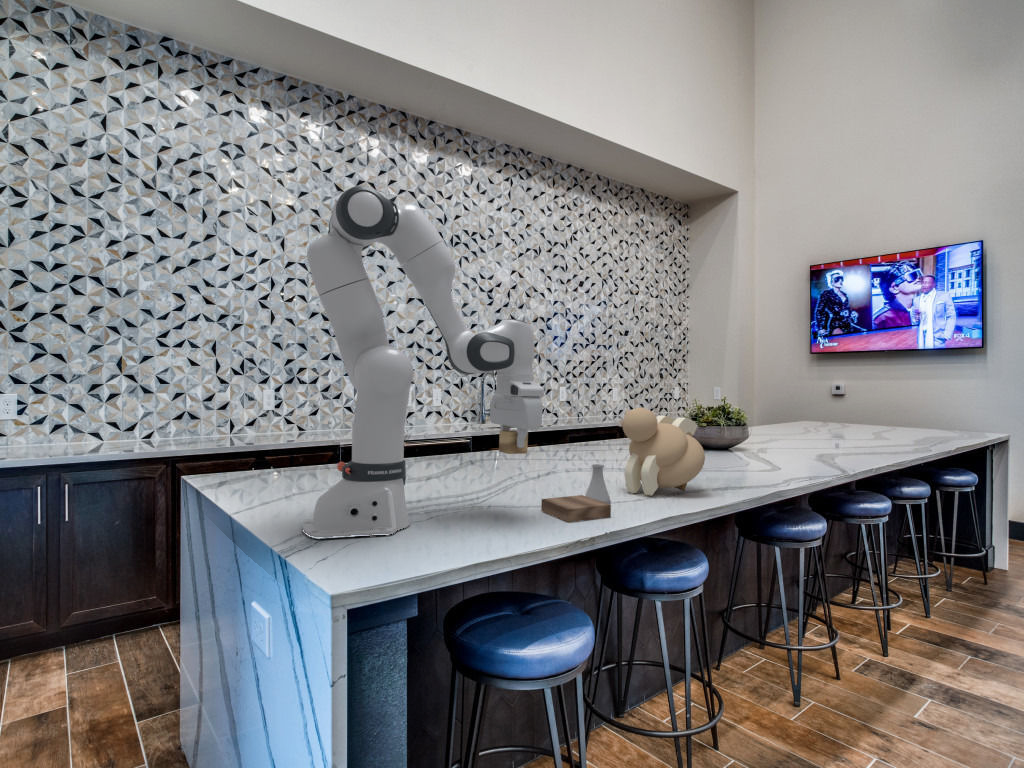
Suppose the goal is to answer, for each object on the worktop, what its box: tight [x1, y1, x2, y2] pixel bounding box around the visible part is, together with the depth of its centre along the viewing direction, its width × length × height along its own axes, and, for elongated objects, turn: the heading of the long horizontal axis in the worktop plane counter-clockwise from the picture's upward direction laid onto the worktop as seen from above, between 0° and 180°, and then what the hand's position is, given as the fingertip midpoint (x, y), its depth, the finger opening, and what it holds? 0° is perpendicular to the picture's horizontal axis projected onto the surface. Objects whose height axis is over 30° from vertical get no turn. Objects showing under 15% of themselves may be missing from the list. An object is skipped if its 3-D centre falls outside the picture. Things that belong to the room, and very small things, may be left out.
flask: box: [584, 463, 612, 504], centre depth 154 cm, size 7×7×10 cm
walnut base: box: [541, 494, 612, 523], centre depth 141 cm, size 12×12×3 cm
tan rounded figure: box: [617, 407, 706, 496], centre depth 169 cm, size 30×28×23 cm
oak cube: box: [498, 429, 529, 455], centre depth 139 cm, size 5×5×5 cm
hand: (513, 445), depth 139 cm, fingers closed on oak cube, 5 cm apart
